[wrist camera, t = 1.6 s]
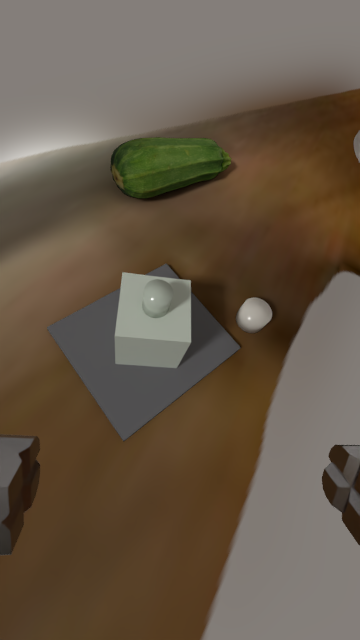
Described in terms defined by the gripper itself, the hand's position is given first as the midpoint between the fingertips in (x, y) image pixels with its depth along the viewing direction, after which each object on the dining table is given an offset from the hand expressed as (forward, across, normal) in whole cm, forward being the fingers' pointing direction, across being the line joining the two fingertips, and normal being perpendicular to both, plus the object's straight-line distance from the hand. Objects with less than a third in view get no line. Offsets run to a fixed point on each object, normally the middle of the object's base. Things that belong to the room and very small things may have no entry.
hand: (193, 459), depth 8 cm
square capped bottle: (+24, 0, +5) cm, 24 cm away
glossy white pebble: (+27, -12, +3) cm, 30 cm away
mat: (+24, 0, +6) cm, 25 cm away
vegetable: (+43, -2, -13) cm, 45 cm away
